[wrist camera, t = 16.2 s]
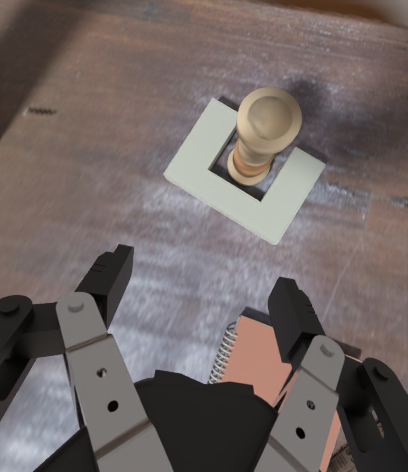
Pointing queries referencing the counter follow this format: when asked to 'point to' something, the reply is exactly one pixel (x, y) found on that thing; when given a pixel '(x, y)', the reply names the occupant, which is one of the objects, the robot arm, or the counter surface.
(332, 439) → the notebook
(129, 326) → the counter surface
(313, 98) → the counter surface
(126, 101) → the counter surface
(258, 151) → the bobbin
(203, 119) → the notched board
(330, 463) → the box
